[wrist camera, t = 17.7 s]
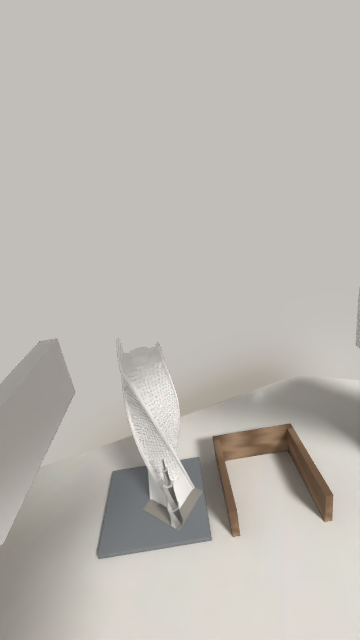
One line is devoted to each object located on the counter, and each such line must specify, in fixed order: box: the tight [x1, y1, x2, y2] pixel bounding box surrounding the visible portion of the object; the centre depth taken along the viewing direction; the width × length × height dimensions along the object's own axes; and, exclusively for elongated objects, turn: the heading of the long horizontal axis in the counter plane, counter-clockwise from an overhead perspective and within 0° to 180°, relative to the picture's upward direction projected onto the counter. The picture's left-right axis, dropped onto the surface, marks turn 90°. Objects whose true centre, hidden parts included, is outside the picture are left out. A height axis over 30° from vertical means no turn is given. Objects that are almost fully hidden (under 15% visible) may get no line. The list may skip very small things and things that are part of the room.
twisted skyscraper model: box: [116, 338, 203, 531], centre depth 43 cm, size 8×8×28 cm
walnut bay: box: [213, 424, 333, 537], centre depth 47 cm, size 14×14×5 cm
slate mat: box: [97, 457, 212, 559], centre depth 48 cm, size 16×14×1 cm
